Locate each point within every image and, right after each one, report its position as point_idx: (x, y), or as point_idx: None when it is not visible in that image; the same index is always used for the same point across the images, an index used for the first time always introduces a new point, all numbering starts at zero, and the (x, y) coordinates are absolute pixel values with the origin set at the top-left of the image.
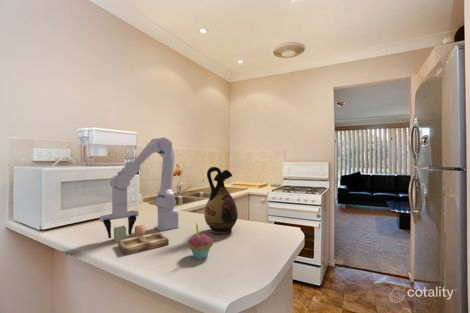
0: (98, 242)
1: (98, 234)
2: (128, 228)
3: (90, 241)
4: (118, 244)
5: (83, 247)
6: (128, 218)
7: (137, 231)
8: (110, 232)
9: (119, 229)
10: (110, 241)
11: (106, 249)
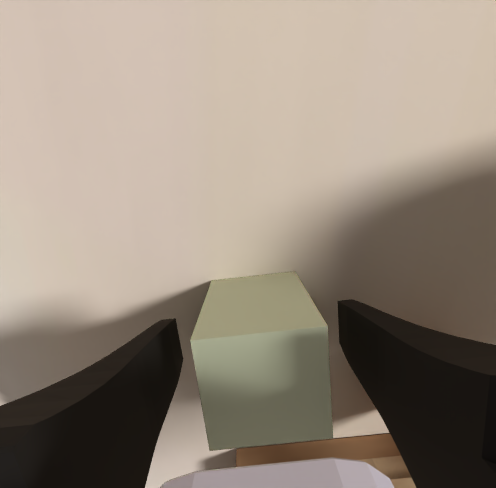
0: (97, 306)
1: (57, 26)
2: (362, 323)
3: (26, 244)
4: (237, 466)
5: (8, 365)
6: (471, 419)
7: None
8: (162, 417)
9: (254, 440)
10: (186, 329)
11: (166, 470)
